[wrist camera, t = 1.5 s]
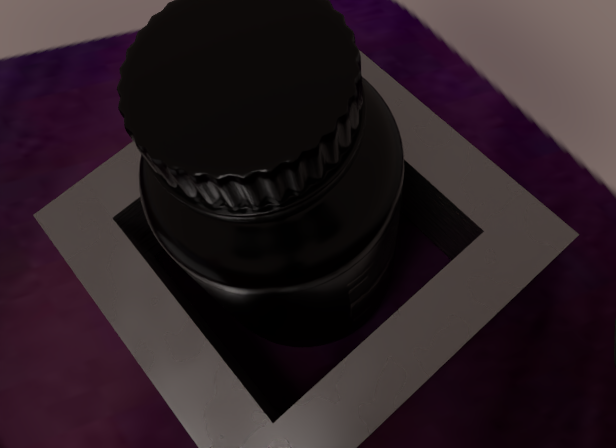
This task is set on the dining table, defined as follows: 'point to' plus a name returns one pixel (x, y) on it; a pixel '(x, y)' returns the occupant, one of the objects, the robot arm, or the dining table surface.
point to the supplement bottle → (266, 162)
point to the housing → (373, 350)
